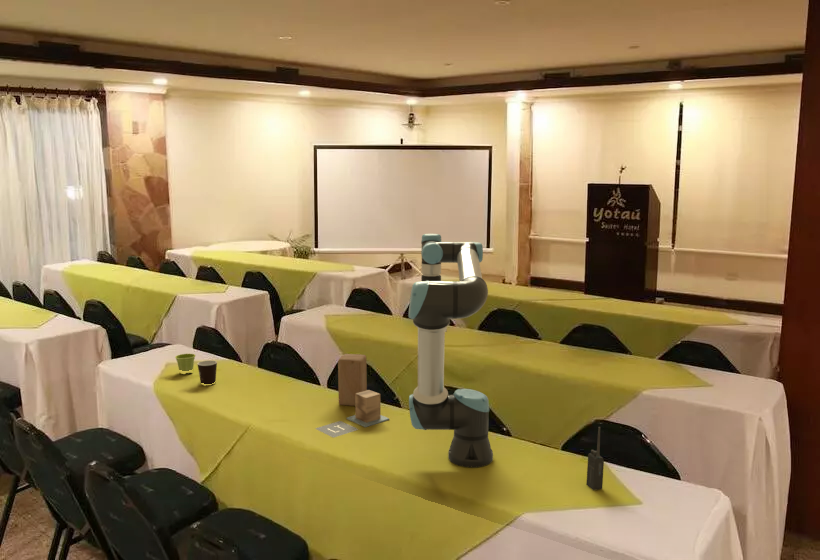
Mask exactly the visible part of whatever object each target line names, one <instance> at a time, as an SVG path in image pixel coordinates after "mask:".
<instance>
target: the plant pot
mask: <svg viewBox="0 0 820 560" xmlns="http://www.w3.org/2000/svg"><path fill="white" fill-rule="evenodd" d="M195 357H196V354H194V353H182V354H177V355H175V357H174V358H175V360H176V362H177V367H178V371H179V370H182V371H189V370H192V369H193V370H194V364H195V363H194V362H195Z"/></svg>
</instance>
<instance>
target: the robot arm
mask: <svg viewBox="0 0 820 560" xmlns="http://www.w3.org/2000/svg"><path fill="white" fill-rule="evenodd" d="M420 254H421V280H420V281H415V282H414V283H413V284H412V286H411V291H410V297H409V308H408V318H409V319H411V320H412V323H413V325H414V326H415V327H416V328H417V386H416V387H415V388H414V390H413V393H411V394H409V397H408V407H409V417H410V421H411V426H412V428H414V429H416V430H423V431H428V430H430V431H434V430H435V431H437V430H439V431H440V430H442V431H444V430H445V431H450V430H451V431H453V437H452V439H451V444H450V446H449V449H448V453H447V455H448V456H447V457H448V460H449V462H450V463H452V464H454V465H457V466H459V467H463V468H481V467H485V466H488V465H490V464H491V463H492V462H493V460H494V452H493V449H492V447H491V443H490V439H489V412H490V406H489V402H490V401H489V398H488V396H487V395H486V394H484V393H483V392H480V391H479V390H475V389H472V388H471V389H470V388H460V389H459V388H458V389H456V390H454V393H453V394H449V391H448V389H447V388H446V387H444V386H445V384H444V383H445V382H444V381H445V380H444V379H445V343H446V342H445V341H446V340H445V337H446V336H445V335H446V333H447V332H448V331H447V330H448V329H447V328H448V326H450V324H451V320H454V319H456V320H460V319H461V320H462V319H466V318H469V317H471V316H473V315H474V314H477V312H479V311H480V310H481V309H482V308H483V307H484V305H485V304H486V302H487V299H488V296H489V287H488V285H487V283H486V281H485V279H483V276H482V270H481V264H480V263H482V262H483V258H484V257H483V256H484V248H483V243H481V242H480V241H479V242H477V241H456V242H455V241H442V235H441V234H439V233H423V234H422V235H421V253H420ZM443 263H445V264H446V263H449V264H451V263H452V264H456V263H457V270H458V279H459V281H457V280H456V281H454V280H453V281H451V280H450V281H446V280H445V281H443V280H442V276H441V274H442V264H443Z"/></svg>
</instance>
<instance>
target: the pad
mask: <svg viewBox="0 0 820 560" xmlns="http://www.w3.org/2000/svg"><path fill="white" fill-rule="evenodd" d="M346 420H348V421H349V422H353V423H355V424H357V425H359V426H362V427H363V428H368V427H371V426H374V425H377V424H380V423H383V422H386V421H390V418H389V417H387V416H385V415H382V414H381V418H380V419H377V420H374V421H371V422H368V423H366V422H364V421H361V420H359V419H357V418H356V414H354V415H352V416H351V415H350V416H348V417H346Z"/></svg>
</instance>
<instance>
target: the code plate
mask: <svg viewBox="0 0 820 560" xmlns="http://www.w3.org/2000/svg"><path fill="white" fill-rule="evenodd" d="M314 429H315V430H317V431H319V432H320V433H323V434H325V435H327V436H329V437H331V438H337V437H340V436H343V435H346V434H349V433H353V432H356V431H359V430H360V428H357V427H354V426H352V425H351V424H348V423H346V422H344V421H341V420H338V421H335V422H331V423H329V424H324V425H322V426H318V427H315V428H314Z"/></svg>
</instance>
